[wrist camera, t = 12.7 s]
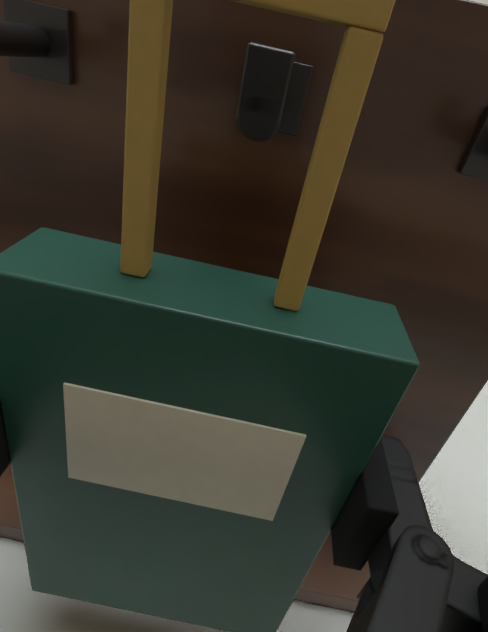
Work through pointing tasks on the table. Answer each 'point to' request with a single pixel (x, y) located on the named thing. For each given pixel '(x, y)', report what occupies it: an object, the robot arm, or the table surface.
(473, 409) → the table surface
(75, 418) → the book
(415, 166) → the hook rack
